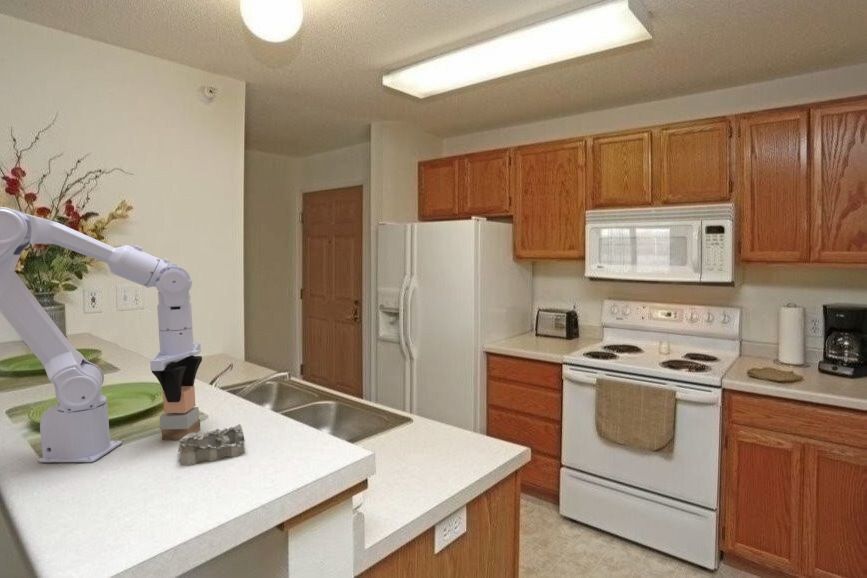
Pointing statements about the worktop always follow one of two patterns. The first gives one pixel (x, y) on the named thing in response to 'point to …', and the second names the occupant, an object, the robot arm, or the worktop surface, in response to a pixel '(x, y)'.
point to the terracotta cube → (181, 401)
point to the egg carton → (201, 444)
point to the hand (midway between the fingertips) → (180, 397)
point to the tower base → (180, 432)
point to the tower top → (179, 419)
